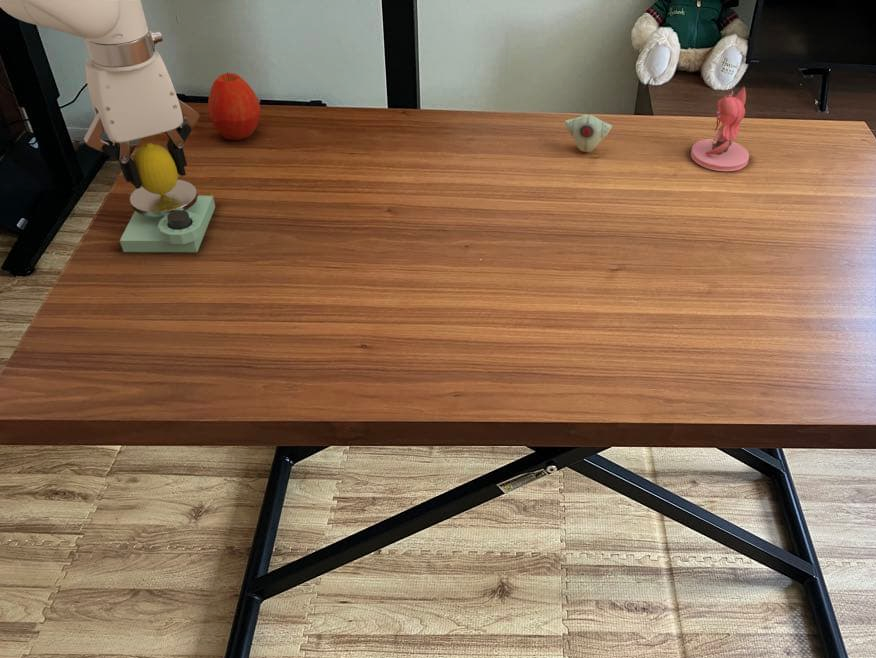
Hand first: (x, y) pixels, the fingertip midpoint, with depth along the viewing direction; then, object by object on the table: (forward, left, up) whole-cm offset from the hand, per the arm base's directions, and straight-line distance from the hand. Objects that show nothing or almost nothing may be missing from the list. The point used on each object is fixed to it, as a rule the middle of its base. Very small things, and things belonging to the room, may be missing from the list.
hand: (157, 176), depth 122 cm
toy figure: (+82, -32, -7) cm, 89 cm away
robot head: (+64, -18, -7) cm, 67 cm away
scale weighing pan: (0, 0, -4) cm, 4 cm away
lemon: (0, 0, -3) cm, 3 cm away
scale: (-1, -2, -7) cm, 7 cm away
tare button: (0, -7, -4) cm, 8 cm away
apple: (+19, +19, -7) cm, 28 cm away
